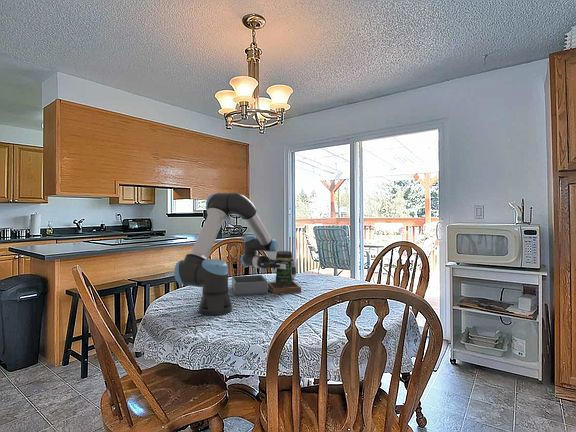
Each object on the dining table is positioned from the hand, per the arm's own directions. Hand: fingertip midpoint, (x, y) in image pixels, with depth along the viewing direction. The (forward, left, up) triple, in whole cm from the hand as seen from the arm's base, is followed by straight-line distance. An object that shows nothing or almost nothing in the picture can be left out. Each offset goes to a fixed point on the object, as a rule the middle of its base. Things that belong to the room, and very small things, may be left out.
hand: (290, 265), depth 193 cm
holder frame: (+3, +3, -15) cm, 15 cm away
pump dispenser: (+31, -7, -15) cm, 35 cm away
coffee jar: (+4, +3, -11) cm, 12 cm away
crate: (+5, +23, -15) cm, 28 cm away
